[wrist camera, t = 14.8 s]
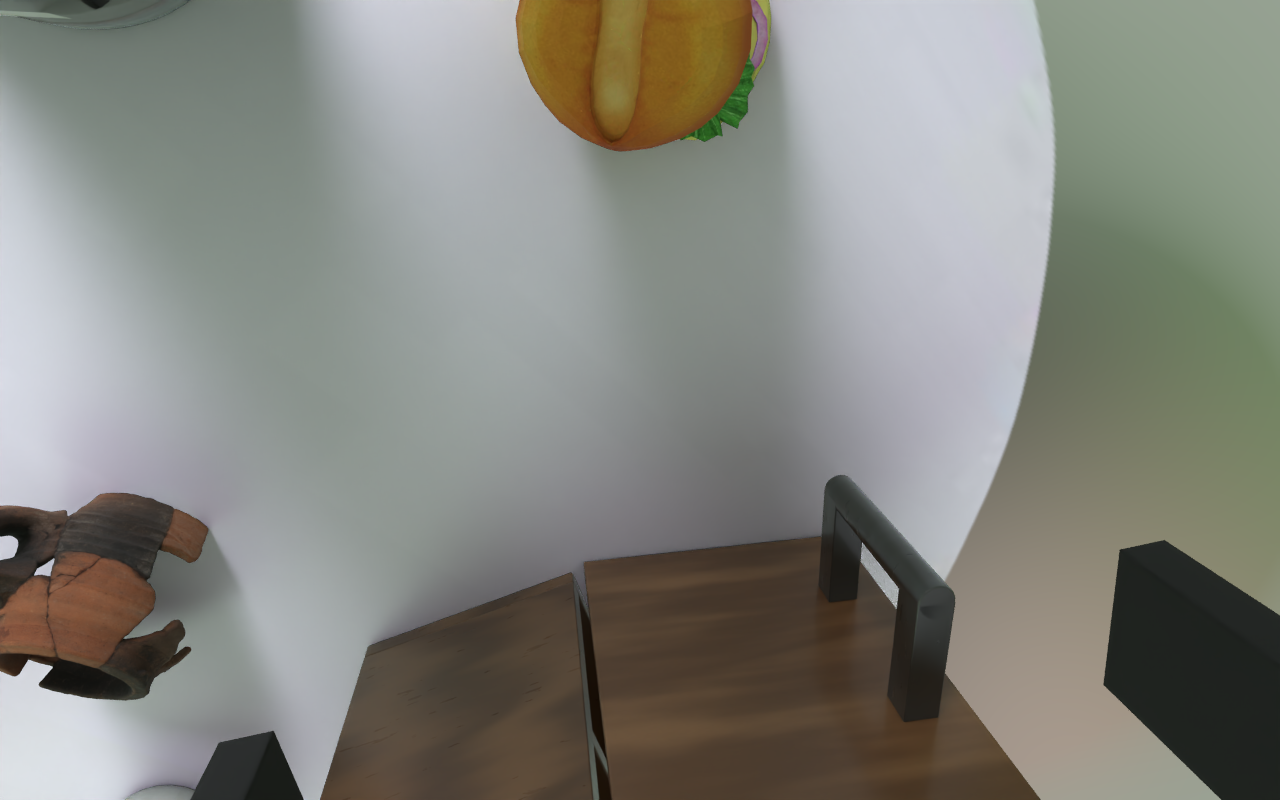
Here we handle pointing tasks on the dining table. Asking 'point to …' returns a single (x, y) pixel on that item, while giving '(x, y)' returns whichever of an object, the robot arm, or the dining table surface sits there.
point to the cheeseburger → (644, 65)
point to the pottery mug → (91, 593)
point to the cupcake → (163, 793)
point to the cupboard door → (787, 672)
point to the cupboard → (479, 707)
